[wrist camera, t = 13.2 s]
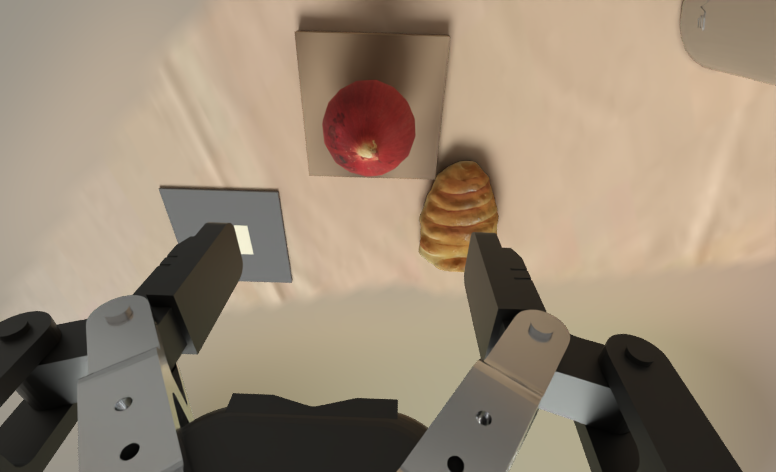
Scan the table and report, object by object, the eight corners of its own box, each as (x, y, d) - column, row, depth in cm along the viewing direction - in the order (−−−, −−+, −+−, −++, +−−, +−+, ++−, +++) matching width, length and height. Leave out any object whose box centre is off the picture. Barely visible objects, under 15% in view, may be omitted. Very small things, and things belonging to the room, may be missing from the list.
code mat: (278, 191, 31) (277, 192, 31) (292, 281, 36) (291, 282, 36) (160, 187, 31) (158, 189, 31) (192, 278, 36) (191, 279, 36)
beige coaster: (448, 35, 24) (450, 36, 23) (433, 174, 30) (435, 179, 29) (298, 30, 24) (294, 31, 23) (311, 170, 30) (309, 175, 29)
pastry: (418, 158, 29) (422, 178, 26) (502, 155, 29) (516, 175, 26) (417, 252, 35) (420, 278, 31) (489, 250, 34) (499, 276, 31)
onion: (355, 163, 28) (343, 216, 22) (316, 93, 25) (288, 130, 19) (425, 131, 27) (434, 179, 20) (391, 53, 24) (389, 79, 17)
